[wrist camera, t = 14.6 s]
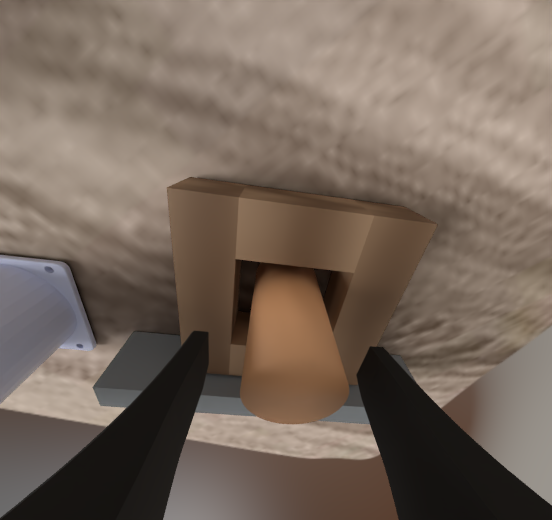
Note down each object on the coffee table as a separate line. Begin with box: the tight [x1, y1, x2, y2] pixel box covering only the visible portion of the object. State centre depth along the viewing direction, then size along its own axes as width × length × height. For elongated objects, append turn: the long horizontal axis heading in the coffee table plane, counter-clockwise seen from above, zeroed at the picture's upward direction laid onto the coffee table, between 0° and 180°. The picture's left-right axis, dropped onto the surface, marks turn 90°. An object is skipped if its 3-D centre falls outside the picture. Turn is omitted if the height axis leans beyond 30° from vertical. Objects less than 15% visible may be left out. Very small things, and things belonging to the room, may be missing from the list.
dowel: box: [240, 262, 349, 424], centre depth 12 cm, size 4×4×8 cm
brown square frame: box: [167, 177, 438, 385], centre depth 14 cm, size 12×12×3 cm
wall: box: [93, 331, 416, 424], centre depth 17 cm, size 22×2×4 cm, turn 82°
